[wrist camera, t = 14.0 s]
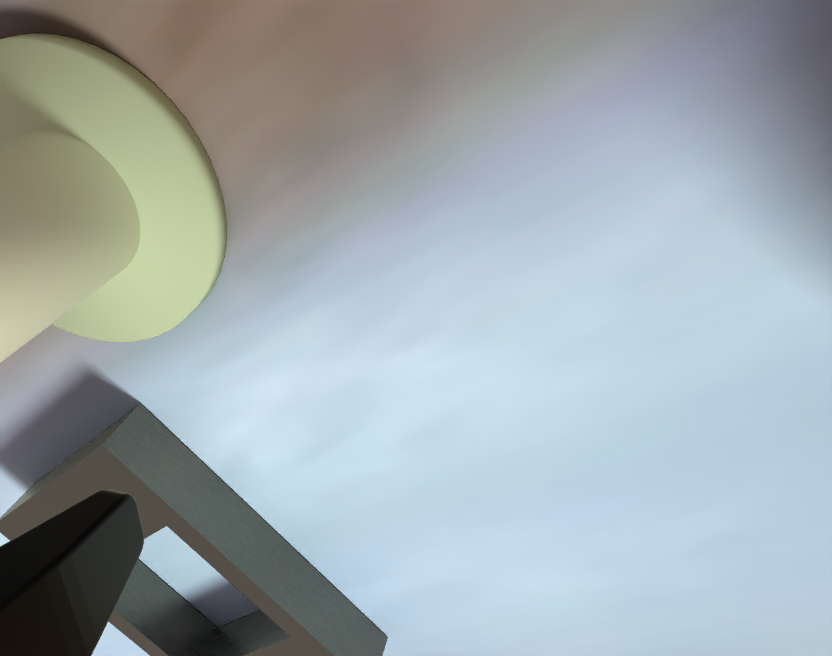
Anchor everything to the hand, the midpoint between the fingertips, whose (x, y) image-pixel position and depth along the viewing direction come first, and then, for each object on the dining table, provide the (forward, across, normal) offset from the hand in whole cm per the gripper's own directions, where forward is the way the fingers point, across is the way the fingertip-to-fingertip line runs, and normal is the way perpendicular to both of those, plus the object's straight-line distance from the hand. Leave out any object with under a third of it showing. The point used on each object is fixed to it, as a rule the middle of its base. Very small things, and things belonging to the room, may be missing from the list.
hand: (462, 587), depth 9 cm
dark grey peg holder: (+13, +12, +19) cm, 26 cm away
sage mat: (+13, +15, +2) cm, 20 cm away
